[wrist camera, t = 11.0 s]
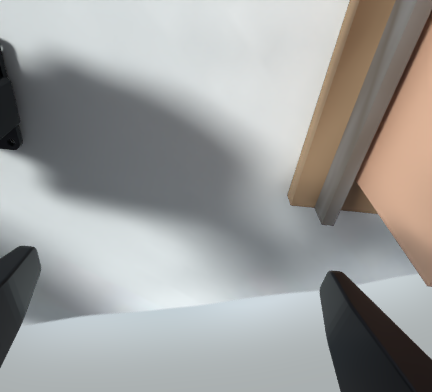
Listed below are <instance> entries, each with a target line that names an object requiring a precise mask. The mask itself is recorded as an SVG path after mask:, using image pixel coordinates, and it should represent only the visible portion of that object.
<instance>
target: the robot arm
mask: <svg viewBox="0 0 432 392" xmlns="http://www.w3.org/2000/svg"><path fill="white" fill-rule="evenodd" d="M19 123H20V118H19V114H18V109H17V105H16V101H15V96H14V92H13V88H12V84H11V81H10V80H9V79H8V77H7V73H6V69H5V65H4V60H3V56H2V52H1V48H0V149H9V150H16V149H18V148H19V147H20V146H21V145H22V144H23V140H22V136H21V132H20V128H19ZM10 139H12V140H14V141H15V143H13V142H11V140H10ZM40 271H41V264H40V260H39V257H38V253H37V250H36V248H35V247H31V246H19V247H17V248H16V249H14V250H13V251H11V252H10V253H8V254H7V255H5V256H4V257H2V258H1V259H0V368H1V365H2V363H3V361H4V359H5V357H6V355H7V353H8V351H9V349H10V347H11V345H12V343H13V341H14V339H15V337H16V334H17V332H18V331H19V328H20V326H21V324H22V322H23V319H24V317H25V314H26V311H27V309H28V306H29V303H30V300H31V297H32V295H33V292H34V289H35V286H36V283H37V280H38V278H39V275H40ZM320 298H321V305H322V311H323V318H324V324H325V331H326V336H327V341H328V346H329V350H330V353H331V357H332V361H333V365H334V368H335V372H336V376H337V380H338V383H339V387H340V391H341V392H432V359H431V358H429V357H428V356H427V355H426V354H425V353H424V352H423V351H422V350H421V349H420V348H419V347H418V346H417V345H416V344H415V343H414V342H413V341H412V340H411V339H410V338H409V337H408V336H407V335H406V334H405V333H404V332H403V331H402V330H401V329H400V328H399V327H398V326H397V325H396V324H395V323H394V322H393V321H392V320H391V319H390V318H389V317H388V316H387V315H386V314H385V313H383V311H382V310H381V309H380V308H379V307H378V306H377V305H376V304H375V303H374V302H372V300H370V298H368V297H367V296H366V295H365V294H364V293H363V292H362V291H361V290H360V289H359V288H358V287H357V286H356V285H355V284H354V283H353V282H352V281H351V280H350V279H349V278H348V277H347V276H346V275H345V274H344V273H343V272H340V271H329V272H328V273H327V275H326V277H325V279H324V281H323V283H322V285H321V287H320Z"/></svg>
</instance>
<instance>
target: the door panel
mask: <svg viewBox="0 0 432 392" xmlns="http://www.w3.org/2000/svg"><path fill="white" fill-rule="evenodd" d="M355 180H356V182H357V183H358V185H359V186H360V188H361V189H362V191H363V192H364V194H365V195H366V197H367V198H368V200H369V201H370V202H371V204H372V205H373V207H374V208H375V210H376V211H377V213H378V214H379V216H380V217H381V219H382V220H383V222H384V223H385V225H386V226H387V228H388V229H389V230H390V232H391V233H392V235H393V236H394V238H395V239H396V241H397V242H398V244H399V245H400V247H401V248H402V250H403V251H404V253H405V254H406V256H407V257H408V259H409V260H410V261H411V263H412V264H413V266H414V267H415V269H416V270H417V272H418V273H419V275H420V276H421V278H422V279H423V281H424V282H425V284H426V285H427V286H431V287H432V10H431V12H430V14H429V17H428V19H427V21H426V23H425V25H424V28H423V30H422V32H421V34H420V36H419V39H418V41H417V43H416V45H415V47H414V50H413V52H412V54H411V56H410V58H409V61H408V63H407V65H406V67H405V69H404V72H403V74H402V76H401V78H400V80H399V83H398V85H397V87H396V89H395V91H394V94H393V96H392V98H391V100H390V102H389V105H388V107H387V109H386V111H385V113H384V116H383V118H382V120H381V122H380V124H379V127H378V129H377V131H376V133H375V135H374V138H373V140H372V142H371V144H370V146H369V149H368V151H367V153H366V155H365V157H364V160H363V162H362V164H361V166H360V169H359V171H358V173H357V175H356V177H355Z"/></svg>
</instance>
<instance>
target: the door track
mask: <svg viewBox="0 0 432 392" xmlns="http://www.w3.org/2000/svg"><path fill="white" fill-rule="evenodd" d="M431 10H432V0H350V2H349V5H348V8H347V11H346V14H345V17H344V21H343V24H342V27H341V30H340V33H339V36H338V39H337V42H336V45H335V49H334V52H333V55H332V58H331V61H330V64H329V67H328V70H327V73H326V77H325V80H324V83H323V86H322V89H321V92H320V95H319V98H318V101H317V105H316V108H315V111H314V114H313V117H312V120H311V123H310V126H309V129H308V133H307V136H306V139H305V142H304V145H303V148H302V151H301V154H300V157H299V161H298V164H297V167H296V170H295V173H294V176H293V179H292V182H291V185H290V189H289V192H288V195H287V196H288V199H289V202H290V205H292V206H302V207H312V208H315V210H316V213H317V215H318V217H319V220H320V222H321V224H322V225H331V226H334V224H335V221H336V219H337V217H338V215H339V213H340V210H343V211H353V212H363V213H374V214H378V213H377V211H376V210H375V208H374V207H373V205H372V204H371V202H370V201H369V200H368V198H367V197H366V195H365V194H364V192H363V191H362V189H361V188H360V186H359V185H358V183H357V182H356V180H355V177H356V175H357V173H358V171H359V169H360V166H361V164H362V162H363V160H364V157H365V155H366V153H367V151H368V149H369V146H370V144H371V142H372V140H373V138H374V135H375V133H376V131H377V129H378V127H379V124H380V122H381V120H382V118H383V116H384V113H385V111H386V109H387V107H388V105H389V102H390V100H391V98H392V96H393V94H394V91H395V89H396V87H397V85H398V83H399V80H400V78H401V76H402V74H403V72H404V69H405V67H406V65H407V63H408V61H409V58H410V56H411V54H412V52H413V50H414V47H415V45H416V43H417V41H418V39H419V36H420V34H421V32H422V30H423V28H424V25H425V23H426V21H427V19H428V17H429V14H430V12H431Z"/></svg>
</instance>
